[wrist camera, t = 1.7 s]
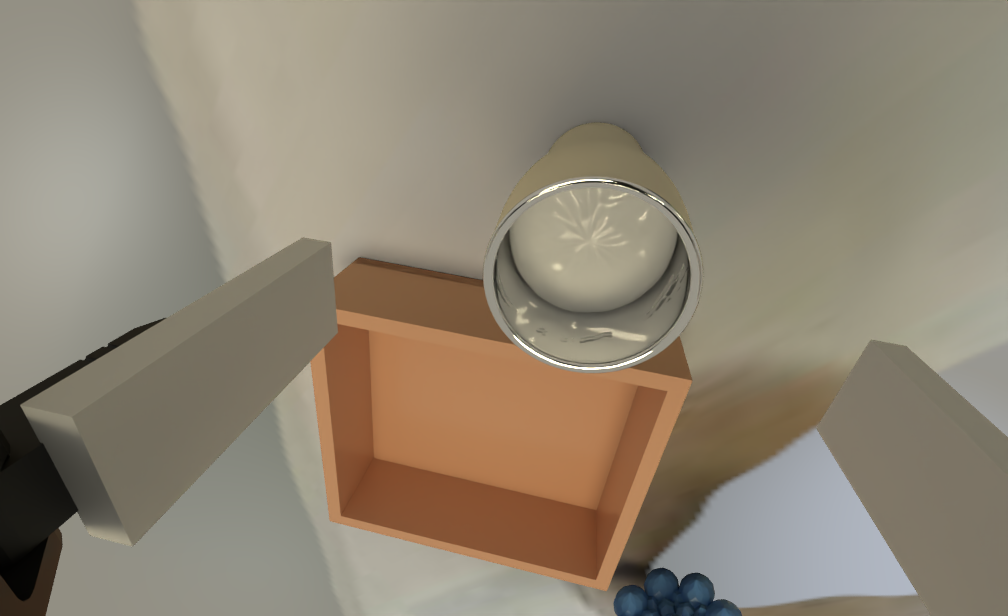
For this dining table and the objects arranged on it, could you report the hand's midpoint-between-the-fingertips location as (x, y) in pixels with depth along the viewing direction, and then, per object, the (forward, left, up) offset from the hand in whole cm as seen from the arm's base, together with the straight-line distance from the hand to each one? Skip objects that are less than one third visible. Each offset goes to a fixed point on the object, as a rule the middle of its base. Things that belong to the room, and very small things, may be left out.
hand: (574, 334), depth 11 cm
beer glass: (0, 0, -18) cm, 18 cm away
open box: (+4, +18, -18) cm, 25 cm away
